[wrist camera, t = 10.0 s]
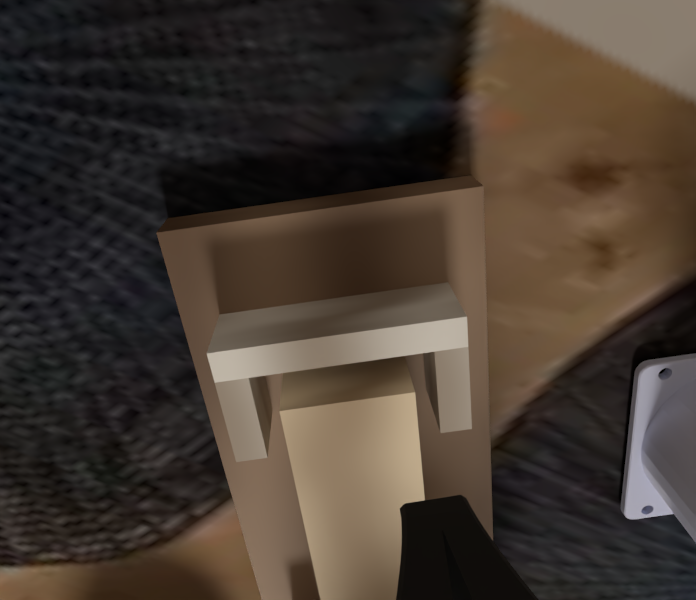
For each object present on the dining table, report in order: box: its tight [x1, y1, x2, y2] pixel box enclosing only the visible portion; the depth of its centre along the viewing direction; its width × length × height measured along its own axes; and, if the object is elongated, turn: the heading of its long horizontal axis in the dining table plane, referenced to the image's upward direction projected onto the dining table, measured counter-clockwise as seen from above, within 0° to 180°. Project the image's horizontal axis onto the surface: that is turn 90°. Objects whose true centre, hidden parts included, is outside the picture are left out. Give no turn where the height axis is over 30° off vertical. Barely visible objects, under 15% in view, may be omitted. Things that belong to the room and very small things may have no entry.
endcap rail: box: [157, 175, 493, 600], centre depth 22 cm, size 10×24×4 cm, turn 7°
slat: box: [279, 356, 425, 600], centre depth 21 cm, size 4×14×3 cm, turn 7°
